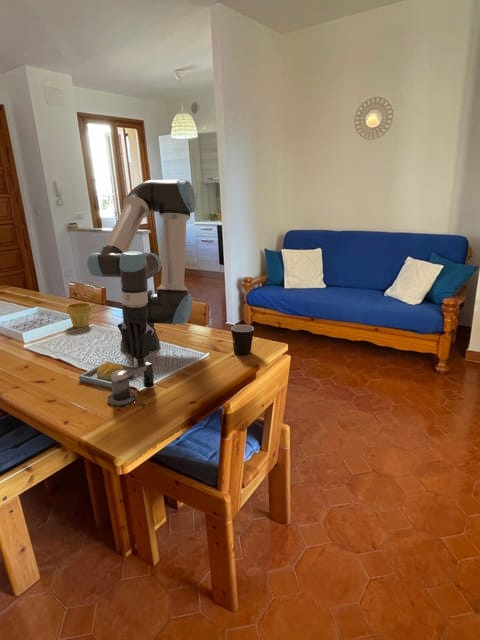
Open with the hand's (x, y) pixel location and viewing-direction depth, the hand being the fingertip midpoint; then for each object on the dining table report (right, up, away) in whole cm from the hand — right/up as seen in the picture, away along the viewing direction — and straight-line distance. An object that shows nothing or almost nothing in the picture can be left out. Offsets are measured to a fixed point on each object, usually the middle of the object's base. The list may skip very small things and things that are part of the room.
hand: (138, 375), depth 131 cm
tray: (-11, -1, +7) cm, 14 cm away
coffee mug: (+33, +5, +30) cm, 45 cm away
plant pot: (-41, +15, +60) cm, 74 cm away
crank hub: (-1, -6, -9) cm, 11 cm away
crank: (0, -4, -5) cm, 6 cm away
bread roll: (-11, -1, +7) cm, 13 cm away
